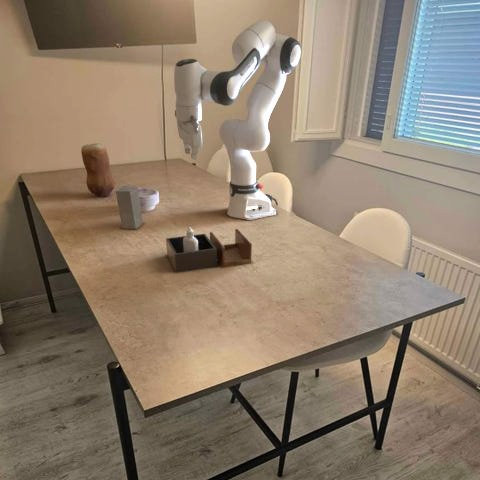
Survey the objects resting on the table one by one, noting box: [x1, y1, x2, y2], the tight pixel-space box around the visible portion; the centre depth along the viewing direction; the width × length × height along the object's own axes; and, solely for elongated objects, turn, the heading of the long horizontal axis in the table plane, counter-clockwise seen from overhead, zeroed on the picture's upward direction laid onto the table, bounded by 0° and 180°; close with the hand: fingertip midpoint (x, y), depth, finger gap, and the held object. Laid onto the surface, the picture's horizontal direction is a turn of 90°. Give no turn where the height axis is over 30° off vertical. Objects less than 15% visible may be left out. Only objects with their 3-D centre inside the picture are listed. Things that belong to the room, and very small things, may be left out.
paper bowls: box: [138, 187, 160, 213], centre depth 196 cm, size 15×15×8 cm
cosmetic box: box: [115, 185, 144, 230], centre depth 176 cm, size 8×7×16 cm
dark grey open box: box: [165, 233, 218, 273], centre depth 151 cm, size 15×15×7 cm
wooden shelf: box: [209, 228, 253, 268], centre depth 154 cm, size 11×15×7 cm
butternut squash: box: [80, 142, 116, 198], centre depth 207 cm, size 14×13×25 cm
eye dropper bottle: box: [183, 226, 198, 252], centre depth 149 cm, size 4×6×12 cm
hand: (190, 156), depth 154 cm, fingers open, 8 cm apart
